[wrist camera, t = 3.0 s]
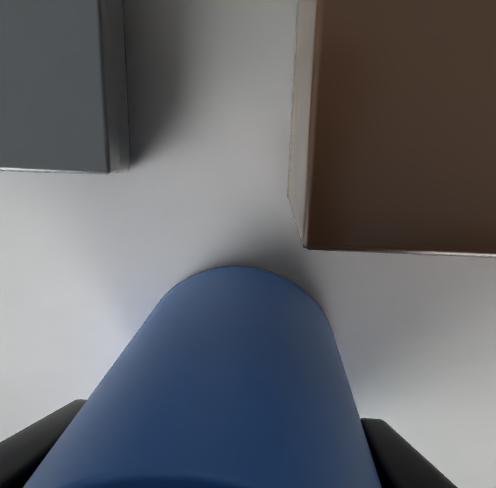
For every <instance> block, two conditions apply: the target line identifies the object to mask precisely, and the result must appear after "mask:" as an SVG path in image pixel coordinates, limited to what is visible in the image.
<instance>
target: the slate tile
mask: <svg viewBox="0 0 496 488" xmlns="http://www.w3.org/2000/svg"><path fill="white" fill-rule="evenodd" d="M128 170H130V151H129V129H128V108H127V86H126V65H125V43H124V22H123V0H0V171H17V172H48V173H79V174H113V173H119V172H125V171H128Z"/></svg>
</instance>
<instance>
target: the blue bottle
mask: <svg viewBox="0 0 496 488" xmlns="http://www.w3.org/2000/svg"><path fill="white" fill-rule="evenodd" d="M23 488H382V487H381V484H380V481H379V477H378V474H377V471H376V468H375V465H374V462H373V458H372V455H371V452H370V449H369V446H368V443H367V440H366V436H365V433H364V430H363V427H362V424H361V421H360V417H359V414H358V411H357V408H356V405H355V402H354V399H353V395H352V392H351V389H350V386H349V383H348V380H347V376H346V373H345V370H344V367H343V364H342V361H341V357H340V354H339V351H338V348H337V345H336V342H335V339H334V335H333V332H332V329H331V327H330V325H329V323H328V320H327V318H326V317H325V315H324V313H323V312H322V310H321V309H320V307H319V306H318V305H317V304H316V302H315V301H314V300H313V299H312V298H311V297H310V296H309V295H308V294H307V293H306V292H305V291H304V290H302V289H301V288H300V287H298V286H297V285H295V284H294V283H292V282H291V281H289V280H287V279H285V278H283V277H281V276H279V275H277V274H274V273H271V272H269V271H265V270H261V269H257V268H251V267H242V266H231V267H221V268H214V269H210V270H207V271H203V272H200V273H198V274H195V275H193V276H191V277H189V278H187V279H185V280H184V281H182V282H180V283H179V284H177V285H176V286H175V287H174V288H172V289H171V290H170V291H169V292H168V293H167V294H166V295H165V296H164V297H163V298H162V299H161V300H160V302H159V303H158V304H157V306H156V307H155V309H154V310H153V311H152V313H151V314H150V315H149V317H148V318H147V319H146V321H145V322H144V324H143V325H142V326H141V328H140V329H139V330H138V332H137V333H136V334H135V336H134V337H133V339H132V340H131V341H130V343H129V344H128V345H127V347H126V348H125V349H124V351H123V352H122V353H121V355H120V356H119V358H118V359H117V360H116V362H115V363H114V364H113V366H112V367H111V368H110V370H109V371H108V373H107V374H106V375H105V377H104V378H103V379H102V381H101V382H100V383H99V385H98V386H97V387H96V389H95V390H94V392H93V393H92V394H91V396H90V397H89V398H88V400H87V401H86V402H85V404H84V405H83V407H82V408H81V409H80V411H79V412H78V413H77V415H76V416H75V417H74V419H73V420H72V422H71V423H70V424H69V426H68V427H67V428H66V430H65V431H64V432H63V434H62V435H61V436H60V438H59V439H58V441H57V442H56V443H55V445H54V446H53V447H52V449H51V450H50V451H49V453H48V454H47V456H46V457H45V458H44V460H43V461H42V462H41V464H40V465H39V466H38V468H37V469H36V470H35V472H34V473H33V475H32V476H31V477H30V479H29V480H28V481H27V483H26V484H25V485H24V487H23Z"/></svg>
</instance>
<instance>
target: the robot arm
mask: <svg viewBox="0 0 496 488" xmlns="http://www.w3.org/2000/svg"><path fill="white" fill-rule="evenodd" d="M86 401H87V400H83V399H78V400H75V401H73V402H71V403H69V404H68V405H66V406H64V407H62V408H60V409H59V410H57V411H55V412H53V413H52V414H50V415H48V416H46V417H45V418H43V419H41V420H39V421H37V422H36V423H34V424H32V425H30V426H29V427H27V428H25V429H23V430H22V431H20V432H18V433H16V434H14V435H13V436H11V437H9V438H7V439H6V440H4V441H2V442H0V488H23V487H24V485H25V484H26V483H27V481H28V480H29V479H30V477H31V476H32V475H33V473H34V472H35V470H36V469H37V468H38V466H39V465H40V464H41V462H42V461H43V460H44V458H45V457H46V456H47V454H48V453H49V451H50V450H51V449H52V447H53V446H54V445H55V443H56V442H57V441H58V439H59V438H60V436H61V435H62V434H63V432H64V431H65V430H66V428H67V427H68V426H69V424H70V423H71V422H72V420H73V419H74V417H75V416H76V415H77V413H78V412H79V411H80V409H81V408H82V407H83V405H84V404H85V402H86ZM360 421H361V424H362V427H363V430H364V433H365V436H366V440H367V443H368V446H369V449H370V452H371V455H372V458H373V462H374V465H375V468H376V471H377V474H378V477H379V481H380V484H381V487H382V488H457V487H456V486H455V485H454V484H453V483H452V482H451V481H450V480H449V479H447V478H446V477H445V476H444V475H443V474H442V473H441V472H440V471H439V470H438V469H436V468H435V467H434V466H433V465H432V464H431V463H430V462H429V461H428V460H427V459H425V458H424V457H423V456H422V455H421V454H420V453H419V452H418V451H417V450H416V449H414V448H413V447H412V446H411V445H410V444H409V443H408V442H407V441H406V440H405V439H403V438H402V437H401V436H400V435H399V434H398V433H397V432H396V431H395V430H394V429H392V428H391V427H390V426H389V425H388V424H387V423H386V422H385V421H383V420H381V419H371V418H361V419H360Z"/></svg>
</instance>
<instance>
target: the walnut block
mask: <svg viewBox="0 0 496 488" xmlns="http://www.w3.org/2000/svg"><path fill="white" fill-rule="evenodd" d="M288 198H289V202H290V205H291V209H292V212H293V215H294V219H295V222H296V225H297V229H298V232H299V236H300V239H301V242H302V245H303V248H306V249H308V250H322V251H346V252H370V253H394V254H418V255H442V256H466V257H490V258H496V0H298V3H297V22H296V42H295V61H294V81H293V100H292V120H291V139H290V158H289V178H288Z"/></svg>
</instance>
